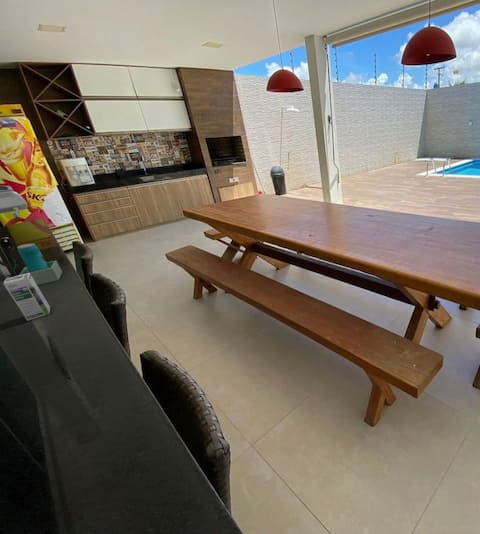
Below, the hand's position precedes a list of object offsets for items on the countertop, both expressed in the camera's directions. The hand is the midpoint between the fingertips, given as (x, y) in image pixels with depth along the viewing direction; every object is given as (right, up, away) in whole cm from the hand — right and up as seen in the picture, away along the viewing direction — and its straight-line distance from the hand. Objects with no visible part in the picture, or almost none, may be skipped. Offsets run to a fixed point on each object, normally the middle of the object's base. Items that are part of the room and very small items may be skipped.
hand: (1, 220), depth 127 cm
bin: (+13, -25, +5) cm, 28 cm away
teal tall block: (+13, -24, +4) cm, 28 cm away
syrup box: (+38, -36, -21) cm, 56 cm away
